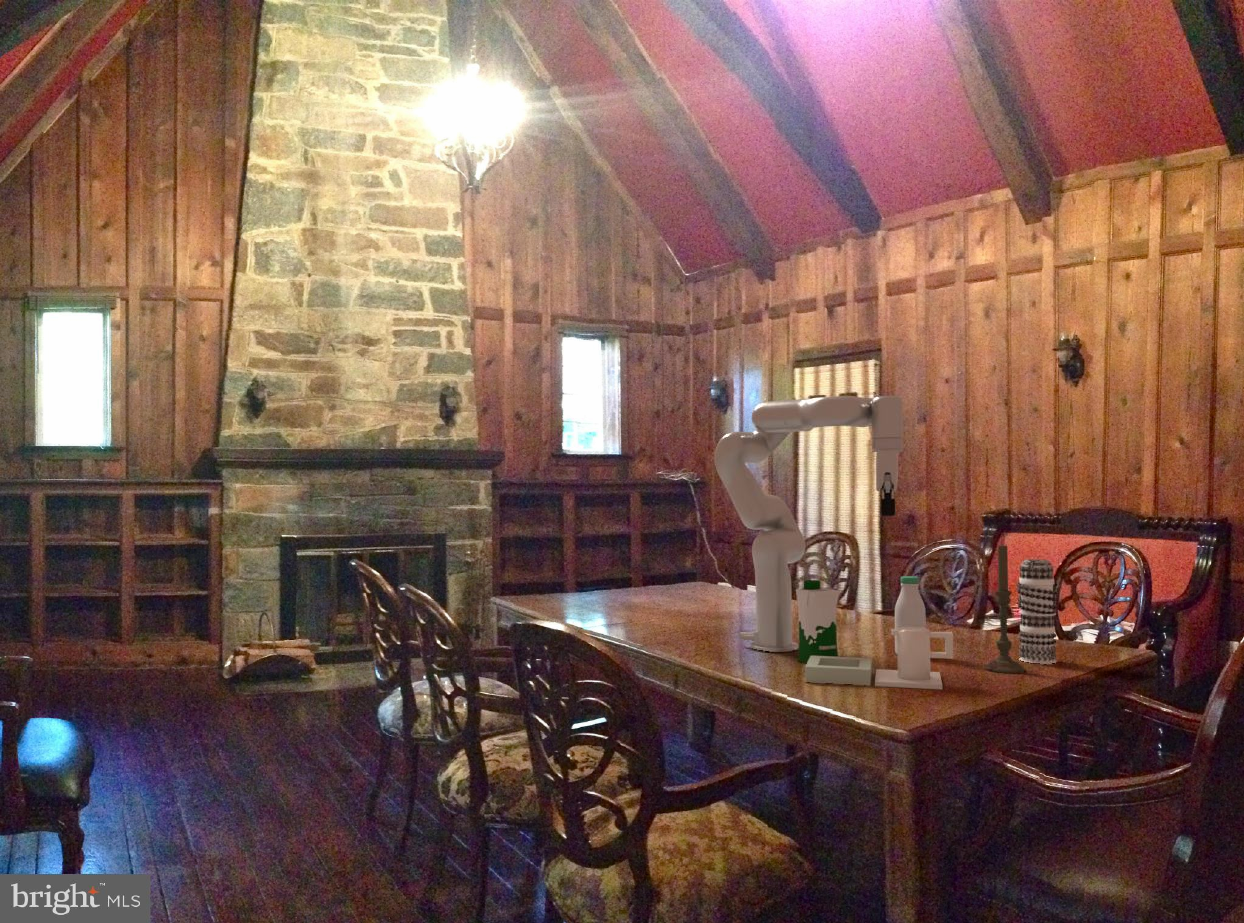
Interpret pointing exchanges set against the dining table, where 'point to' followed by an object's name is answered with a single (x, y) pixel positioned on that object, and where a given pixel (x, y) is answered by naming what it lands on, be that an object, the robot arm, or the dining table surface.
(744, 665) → the dining table surface
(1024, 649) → the decorative candle
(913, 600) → the milk bottle
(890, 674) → the tile
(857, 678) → the holder
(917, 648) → the capsule with loop handle
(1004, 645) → the candlestick holder
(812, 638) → the milk carton
